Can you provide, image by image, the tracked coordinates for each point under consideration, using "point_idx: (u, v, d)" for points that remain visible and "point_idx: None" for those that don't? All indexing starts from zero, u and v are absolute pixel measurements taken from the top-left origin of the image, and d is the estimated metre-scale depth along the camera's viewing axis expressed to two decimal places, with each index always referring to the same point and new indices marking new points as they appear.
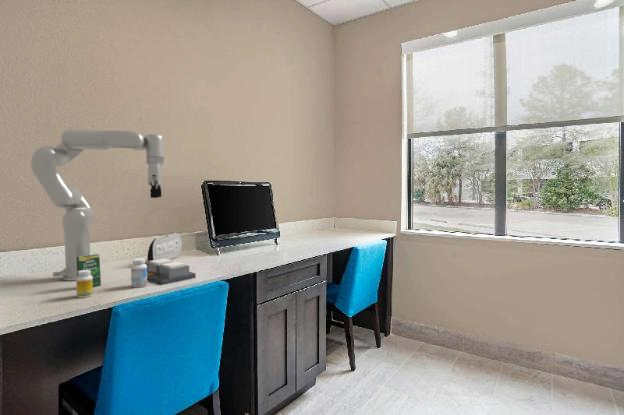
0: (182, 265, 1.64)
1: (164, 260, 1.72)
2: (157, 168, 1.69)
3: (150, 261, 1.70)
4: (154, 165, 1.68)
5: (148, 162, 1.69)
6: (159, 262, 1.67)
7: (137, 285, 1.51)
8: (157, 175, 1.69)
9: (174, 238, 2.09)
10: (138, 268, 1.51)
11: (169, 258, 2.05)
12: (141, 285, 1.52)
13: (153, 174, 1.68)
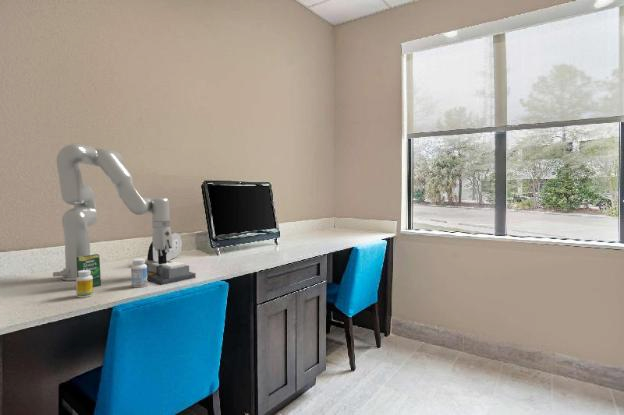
0: (182, 265, 1.64)
1: None
2: None
3: None
4: None
5: None
6: None
7: (137, 285, 1.51)
8: None
9: (174, 238, 2.09)
10: (138, 268, 1.51)
11: (169, 258, 2.05)
12: (141, 285, 1.52)
13: None
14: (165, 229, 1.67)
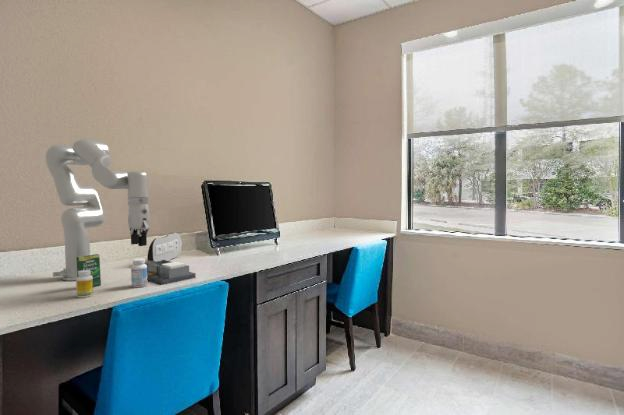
0: (182, 265, 1.64)
1: None
2: None
3: None
4: None
5: None
6: None
7: (137, 285, 1.51)
8: None
9: (174, 238, 2.09)
10: (138, 268, 1.51)
11: (169, 258, 2.05)
12: (141, 285, 1.52)
13: None
14: (142, 206, 1.49)
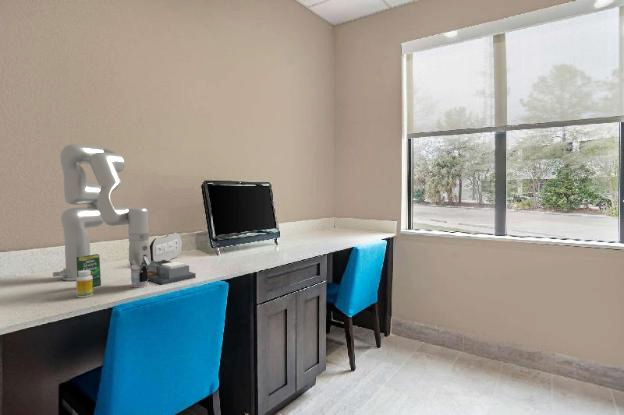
0: (182, 265, 1.64)
1: None
2: None
3: None
4: None
5: None
6: None
7: (137, 285, 1.51)
8: None
9: (174, 238, 2.09)
10: (138, 268, 1.51)
11: (169, 258, 2.05)
12: (141, 285, 1.52)
13: None
14: (142, 243, 1.50)
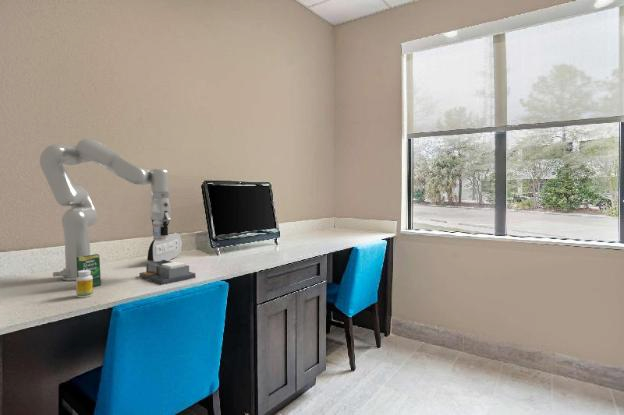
0: (182, 265, 1.64)
1: None
2: None
3: None
4: None
5: None
6: None
7: (158, 238, 1.67)
8: None
9: (174, 238, 2.09)
10: (159, 223, 1.67)
11: (169, 258, 2.05)
12: (162, 239, 1.68)
13: None
14: (164, 200, 1.66)
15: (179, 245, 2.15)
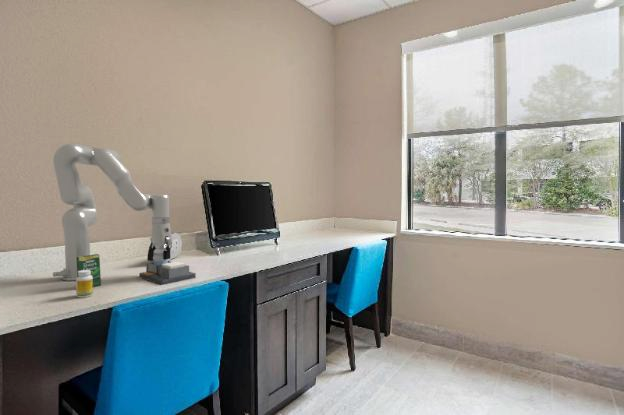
0: (182, 265, 1.64)
1: None
2: None
3: None
4: None
5: None
6: None
7: None
8: None
9: (174, 238, 2.09)
10: (160, 252, 1.68)
11: None
12: None
13: None
14: (164, 226, 1.67)
15: (179, 245, 2.15)
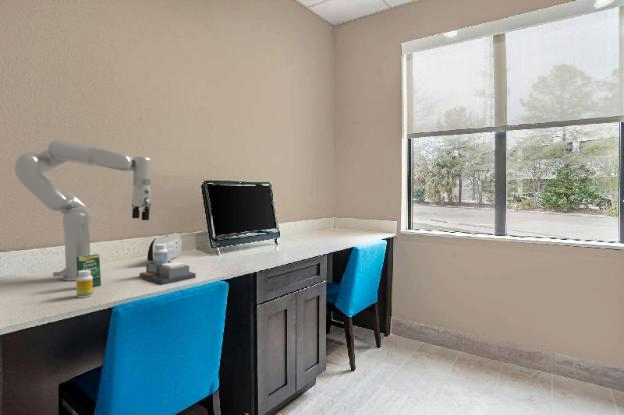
0: (182, 265, 1.64)
1: None
2: None
3: None
4: None
5: None
6: None
7: None
8: None
9: (174, 238, 2.09)
10: (160, 252, 1.68)
11: (169, 258, 2.05)
12: None
13: None
14: (144, 187, 1.70)
15: (179, 245, 2.15)
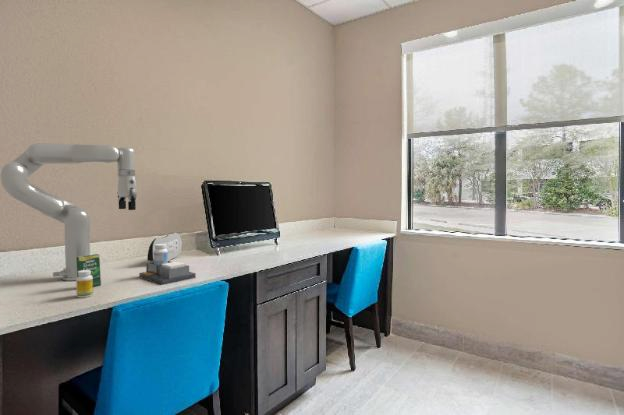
0: (182, 265, 1.64)
1: None
2: None
3: None
4: None
5: None
6: None
7: None
8: None
9: (174, 238, 2.09)
10: (160, 252, 1.68)
11: (169, 258, 2.05)
12: None
13: None
14: (129, 177, 1.73)
15: (179, 245, 2.15)
